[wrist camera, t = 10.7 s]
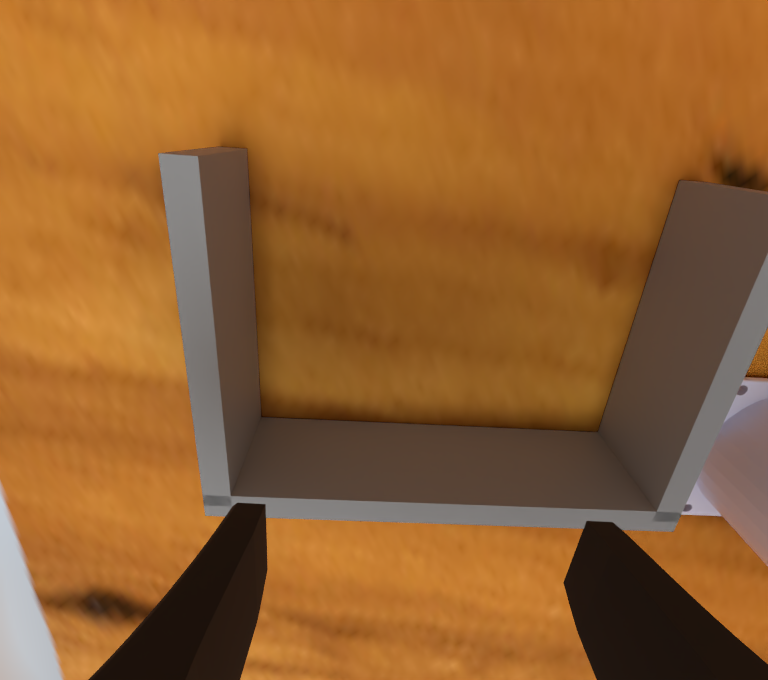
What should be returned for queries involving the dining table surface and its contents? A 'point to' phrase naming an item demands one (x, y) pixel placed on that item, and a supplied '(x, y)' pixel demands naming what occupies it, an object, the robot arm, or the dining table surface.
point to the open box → (466, 443)
